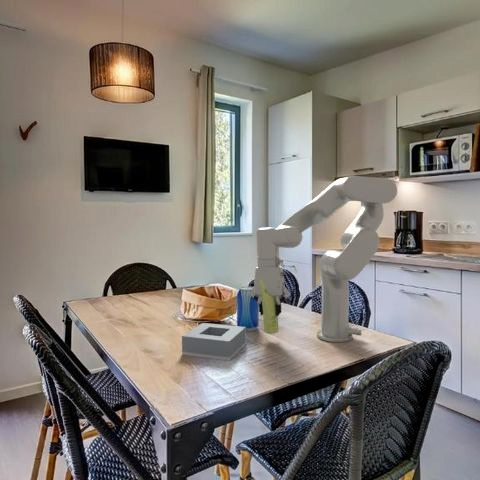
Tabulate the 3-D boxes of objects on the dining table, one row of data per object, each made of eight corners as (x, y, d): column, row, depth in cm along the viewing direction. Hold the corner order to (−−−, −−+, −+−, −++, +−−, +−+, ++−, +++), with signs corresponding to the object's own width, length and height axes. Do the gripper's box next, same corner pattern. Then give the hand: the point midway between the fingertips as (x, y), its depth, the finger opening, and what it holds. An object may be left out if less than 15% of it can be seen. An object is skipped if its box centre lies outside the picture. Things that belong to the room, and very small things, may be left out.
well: (245, 344, 134) (245, 327, 134) (229, 360, 119) (229, 341, 119) (202, 339, 140) (202, 322, 139) (182, 354, 124) (181, 336, 124)
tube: (276, 334, 134) (273, 278, 133) (262, 334, 136) (259, 278, 135) (279, 330, 140) (277, 275, 139) (266, 329, 141) (263, 275, 140)
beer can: (256, 332, 148) (256, 290, 147) (234, 331, 150) (234, 289, 149) (260, 326, 156) (260, 286, 155) (239, 325, 158) (239, 285, 157)
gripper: (294, 261, 137) (296, 312, 138) (248, 261, 143) (250, 310, 144) (290, 264, 130) (292, 318, 131) (241, 264, 136) (243, 316, 137)
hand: (270, 314), depth 138 cm, fingers closed on tube, 5 cm apart
